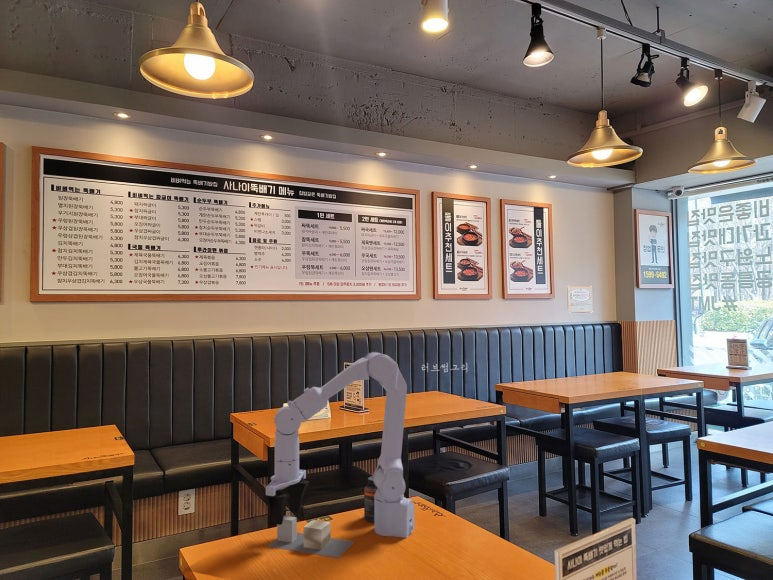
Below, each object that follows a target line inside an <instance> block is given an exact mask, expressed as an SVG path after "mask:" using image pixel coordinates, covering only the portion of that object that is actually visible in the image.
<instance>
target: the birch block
mask: <svg viewBox="0 0 773 580" xmlns="http://www.w3.org/2000/svg"><path fill="white" fill-rule="evenodd" d="M303 534H304V547H305V548H311V549H317V550H322V549H323V548H324V547H326V546H327V545H328V544H329V543H330V542H331V538H332V537H331V535H332V534H331V522H330V521H324V520H318V519H312V520H311V521H310V522H307V524H305V525H304V526H303Z"/></svg>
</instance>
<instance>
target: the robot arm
mask: <svg viewBox="0 0 773 580" xmlns="http://www.w3.org/2000/svg"><path fill="white" fill-rule="evenodd" d="M370 378H372V379H373V380H376V381H377V382H378V384H379V385H380V386H381V387H382V388H383V389H384V390H385V392H386V393H385V402H384V403H385V405H384V415H383V425H382V427H383V428H382V429H383V430H382V438H381V447H380V448H381V450H380V456H379V457H378V460H377V467H376V469H375V470H374V472H373V475H372V476H373V482H374V484H375V486H376V487H377V491H376V493H375V494H374V533H375V534H377V535H379V536H385V537H399V538H404V539H407V538H408V537H409V536H410V535H411V534H412V533H413V531H414V530H415V504H414V501H413V499H410V498H406V496H405V495H404V494H405V492H406V487H407V486H406V481H405V479H404V467H403V463H402V452H403V451H402V450H403V438H404V427H405V415H406V405H407V403H406V402H407V391H408V384H407V382H406V380H405V378H404V376H403V374H402V373H401V370H400V369H399V365H398V363H397V362H396V361H395V360H394V359H393V358H392V357H390V356H389V355H387V354H385V353H381V352H378V351H372V352H369V353H368V354H365V356H364V357H361V358H359V359H357V360H356V361H355V362H353V363H351V364H350V365H349V366H347V367H346V368H344V369H343V370H342V371H341V372H339V373H338V374H337V375H335V376H334V377H333V378H331V380H329V381H328V382H326V383H325V384H324V385H322V386H320V387H318V386H312V387H310V388H309V387H306V388H305V389H304V390H303V393H302V394H301V395H299V396H298V397H296V398H295V399H294V400H288V402H286V403H287V404H286V405H287V406H282V407H280V408H279V409H278V410H277V411H276V413H275V414H274V415H275V416H274V418H273V421H274V424H275V425H274V426H275V428H276V429H275V432H274V435H275V439H274V475H272V476H271V477H270V482H269V483H268V485H266V486H265V491H264V492H263V494H262V495H263V496H262V497H263V499H264V501H265V502H266V504H267V506H268V509H269V512H270V517H271V520H272V524H273V525H276V526H277V525H281V524H282V523H283V517H284V516H285V507H286V503H287V500H288V501H289V502H288V503H289V510H290V511H289V512H290V513H293V514H300V511H301V507H302V504H303V499H304V496H305V493H306V491H307V488H308V487H309V483H310V481H309V480H306V478H307V470H306V469H300V438H299V429H300V427H301V423H305V422H307V421H308V420H310V419H311V418H313V417H314V416H315V415H317V414H318V413H319V412H321V411H322V410H323V409H325V408H327V405H328V401H329V399H330V398H332V397H333V396H334V395H336V394H337V393H340V391H342V390H344V389H345V388H347V387H348V386H350V385H351V384H353V383H354V382H355V381H368V380H370ZM284 489H287V493H283V491H282V490H284Z"/></svg>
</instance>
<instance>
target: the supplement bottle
mask: <svg viewBox="0 0 773 580" xmlns="http://www.w3.org/2000/svg"><path fill="white" fill-rule="evenodd" d="M376 491H377V487H376V486H375V484H374V482H373V475H372V476H369V477H367V485H365V487H364V491H363V492H364V493H363V494H364V496H363V498H364V499H363V500H364V501H363V505H364V506H363V507H364V508H363V511H364V512H363V513H364V514H363V515H364V519H363V520H364V521H366V522H368V523H374V494H375V493H376ZM374 524H375V523H374Z"/></svg>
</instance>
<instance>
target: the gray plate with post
mask: <svg viewBox="0 0 773 580" xmlns="http://www.w3.org/2000/svg"><path fill="white" fill-rule="evenodd" d="M297 518H298V517H295V516H291V515H290V516H288V515H284V517H283V523H282V524H281V525H277V524H276V539H275V540H273V541H272V542H270V543H269V544H268V545H266V546H267V547H270V548H274V549H279V550H280V549H281V550H287V551H293V552H298V553H305V554H310V555H311V554H312V555H316V556H324V557H329V558H335V559H339V558H340V557H341V556H342V555H343V554H344V553H345V552H346V551H347V550H349V548H350V547H352V546H353V544H355V543H356V541H352V540H347V539H341V538H336V537H335V538H334V537H331V542H330V543H329V544H328V545H327V546H326V547H324V548H323V549H322V550H317V549H311V548H305V547H304V532H303V533H301V532H297V531H298V530H297V529H298V528H297Z"/></svg>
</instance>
